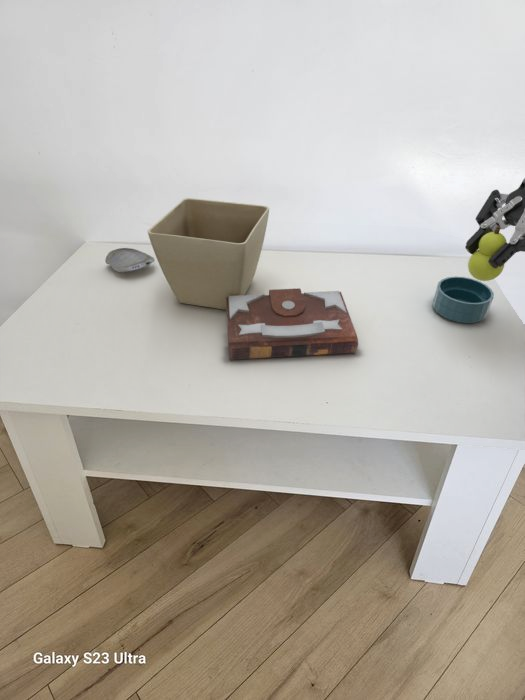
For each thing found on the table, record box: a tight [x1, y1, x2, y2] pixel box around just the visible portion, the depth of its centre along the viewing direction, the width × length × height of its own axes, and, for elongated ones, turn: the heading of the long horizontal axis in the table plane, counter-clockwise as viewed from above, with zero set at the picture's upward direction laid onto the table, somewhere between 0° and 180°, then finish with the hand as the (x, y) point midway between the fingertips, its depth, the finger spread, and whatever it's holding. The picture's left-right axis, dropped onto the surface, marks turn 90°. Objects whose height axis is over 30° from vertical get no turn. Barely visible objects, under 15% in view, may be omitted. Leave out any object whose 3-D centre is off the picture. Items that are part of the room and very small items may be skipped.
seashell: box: [104, 247, 156, 273], centre depth 106 cm, size 12×8×5 cm
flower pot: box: [147, 197, 270, 311], centre depth 95 cm, size 19×19×17 cm
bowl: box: [432, 276, 495, 324], centre depth 94 cm, size 11×11×5 cm
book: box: [226, 287, 359, 361], centre depth 87 cm, size 23×16×5 cm
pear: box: [467, 226, 508, 282], centre depth 74 cm, size 5×5×9 cm
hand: (480, 257), depth 74 cm, fingers closed on pear, 4 cm apart
